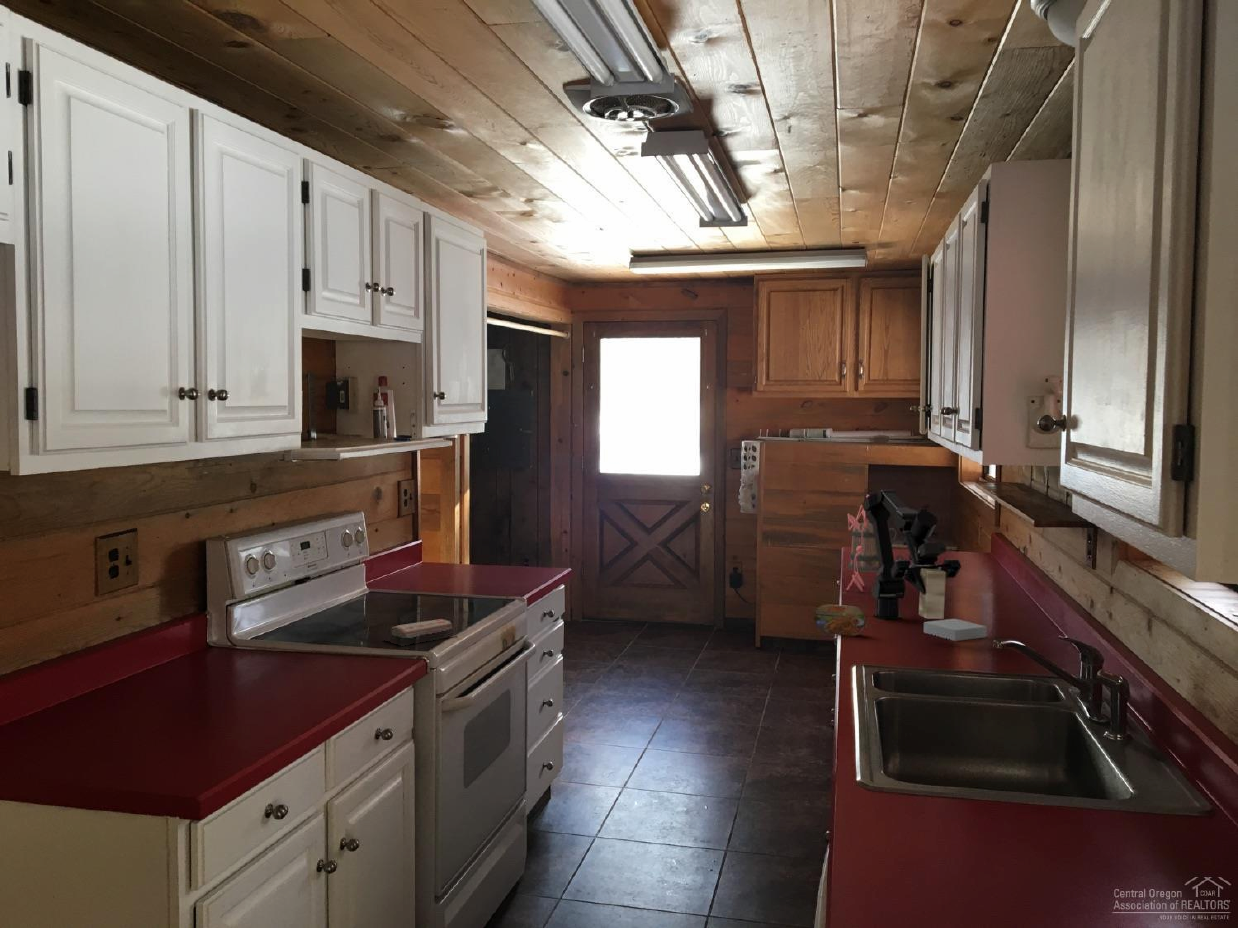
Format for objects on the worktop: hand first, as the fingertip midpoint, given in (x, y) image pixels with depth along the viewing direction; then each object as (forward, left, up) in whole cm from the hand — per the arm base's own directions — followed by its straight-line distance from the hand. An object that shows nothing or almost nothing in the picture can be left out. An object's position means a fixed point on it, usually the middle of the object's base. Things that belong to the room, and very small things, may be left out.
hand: (934, 593), depth 262 cm
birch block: (-1, 0, -7) cm, 7 cm away
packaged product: (-64, -128, -14) cm, 143 cm away
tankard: (-108, +73, -14) cm, 131 cm away
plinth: (-4, +12, -13) cm, 19 cm away
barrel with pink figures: (-72, +38, -14) cm, 83 cm away
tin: (-19, -17, -14) cm, 29 cm away
